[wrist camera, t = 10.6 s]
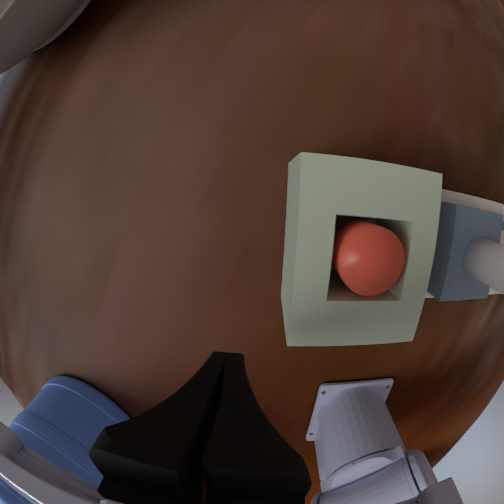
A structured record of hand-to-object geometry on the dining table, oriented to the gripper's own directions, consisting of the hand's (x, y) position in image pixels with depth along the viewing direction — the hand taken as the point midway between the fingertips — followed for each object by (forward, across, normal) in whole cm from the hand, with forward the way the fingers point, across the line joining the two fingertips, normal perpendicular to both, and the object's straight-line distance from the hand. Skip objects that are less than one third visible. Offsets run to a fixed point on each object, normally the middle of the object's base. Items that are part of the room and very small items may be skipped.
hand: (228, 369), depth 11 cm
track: (+10, -17, -5) cm, 21 cm away
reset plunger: (+7, -7, -5) cm, 11 cm away
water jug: (+10, +20, +22) cm, 31 cm away
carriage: (+7, -17, -5) cm, 19 cm away
